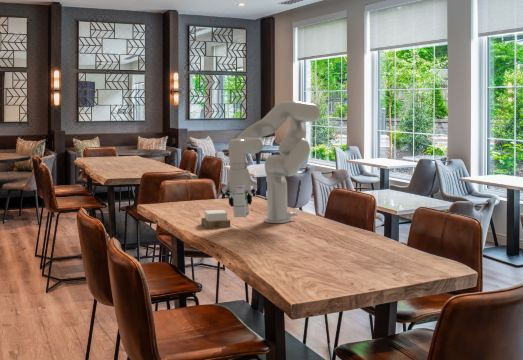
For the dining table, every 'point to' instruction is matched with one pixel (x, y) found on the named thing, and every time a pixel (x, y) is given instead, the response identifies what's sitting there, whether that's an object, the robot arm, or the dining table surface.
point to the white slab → (216, 215)
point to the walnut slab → (215, 223)
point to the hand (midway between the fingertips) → (240, 204)
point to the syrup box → (240, 202)
